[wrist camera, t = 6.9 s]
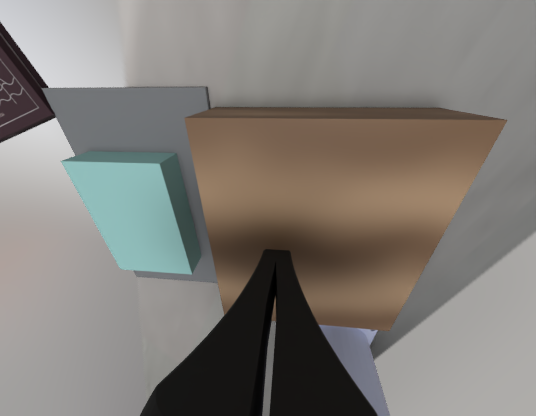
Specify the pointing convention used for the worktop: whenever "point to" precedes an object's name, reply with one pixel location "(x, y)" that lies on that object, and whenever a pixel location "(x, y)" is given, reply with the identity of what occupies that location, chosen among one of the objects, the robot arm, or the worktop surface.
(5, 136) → the chocolate bar
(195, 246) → the teal rectangular block
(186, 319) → the worktop surface
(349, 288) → the brown flat block
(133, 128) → the mat
